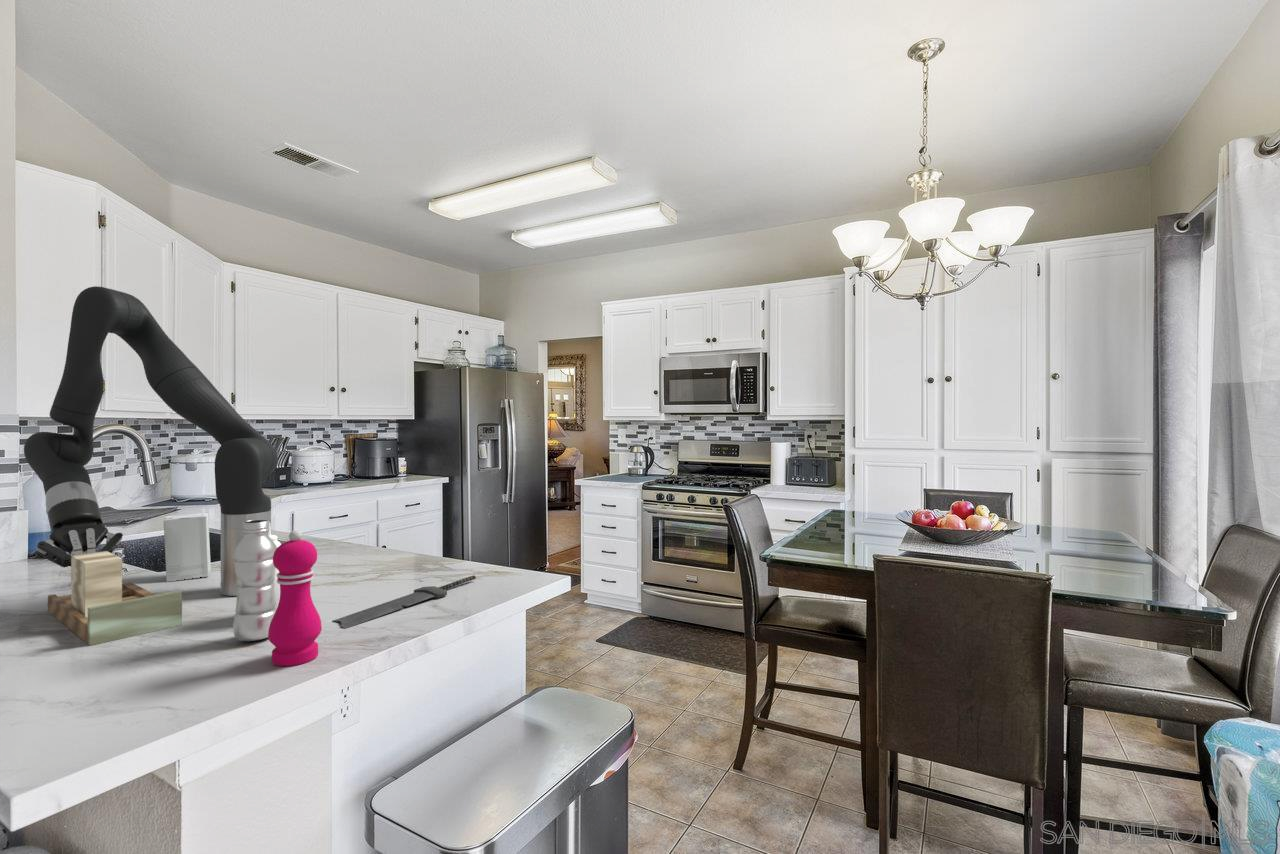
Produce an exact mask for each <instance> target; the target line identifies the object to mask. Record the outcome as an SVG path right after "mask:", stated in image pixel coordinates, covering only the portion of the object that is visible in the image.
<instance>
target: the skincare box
mask: <svg viewBox="0 0 1280 854" xmlns="http://www.w3.org/2000/svg"><path fill="white" fill-rule="evenodd" d="M209 524H210V523H209V512H198V513H190V514H189V513H187V514H177V515H176V514H175V515H167V516H166V517H165V518H164V519H163V535H164V536H163V537H164V555H165V573H166V582H167V583H168V581H170V582H175V581H176V582H177V580H178V581H184V579H185V580H192V578H193V579H201V578H200V577H202V578H208V577H209V576H210V574H211V572H212V571H211V570H212V566H211V565H212V564H211V549H210V548H211V547H210V525H209Z"/></svg>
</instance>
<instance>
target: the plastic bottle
mask: <svg viewBox="0 0 1280 854" xmlns="http://www.w3.org/2000/svg"><path fill="white" fill-rule="evenodd" d="M268 531H269V521H268V520H250V521H245V522H243V530H242V533H243V534H244V537H243V538H242V540H241V541H240V542H239V543H238V545H237V546H236V548H235V549H234V552H233V555H232V556H233V561H234V562H233V563H234V569H235V574H236V585H237V596H236V606H235V614H234V618H233V622H232V630H233V631H232V632H233V635H234V637H235V638H236V640H238V641H240V642H253V641H260V640H263V639H267V638H268V632H269V626H270V623H271V620H272V618H273V616H274V614H275V612H276V610H277V608H276V601H275V592H274V581H275V569H276V568H275V566H274V564H273V555H274V552H275V550H276V549H277V546H276V544H275V543H274V542H273V540H272V539H271V538H270V537H269V536H268V535H267V532H268Z"/></svg>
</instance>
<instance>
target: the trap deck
mask: <svg viewBox="0 0 1280 854" xmlns="http://www.w3.org/2000/svg"><path fill="white" fill-rule="evenodd" d="M47 611H48V613H50V614H51V615H53V616H54V617H55V618H56V619H57V620H58V621H59V622H61V623H62V624H64V626H66V627H67V628H68V629H69V630H70V631H72V632H73V633H74V634H75V635H77V636H78V638H79V639H81V640H82V641H84V642H85V643H86V644H87V645H89V646H95V645H100V644H104V643H108V642H109V643H110V642H113V641H117V640H121V639H122V640H123V639H126V638H130V637H134V636H135V637H136V636H139V635H144V634H148V633H153V632H157V631H162V630H167V629H170V628H171V629H172V628H175V627H179V626H182V625H183V591H180V590H175V591H169V592H163V593H158V594H155V593H152V592H151V591H149V590H147V589H145V588H143V587H142V586H140V585H137V584H135V583H133V582H131V581H127V582H122V601H120V602H115V603H109V604H104V605H99V606H93V607H88V617H85V616H84V615H83V614H81V613H80V612H79V611H77V610H76V609H74V608H73V607H72V606H71V594H67V595H62V596H58V595H56V594H54V593H53V594H49V595H47Z"/></svg>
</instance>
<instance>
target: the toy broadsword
mask: <svg viewBox="0 0 1280 854" xmlns="http://www.w3.org/2000/svg"><path fill="white" fill-rule="evenodd" d="M476 578H477V576H476V575H474V574H473V575H471V576H468V577H464V578H461V579H459V580H456V581H453V582H451V583H447V584H445V585H441V586H439V587H438V586H435V585H434V586H422V587H419V588H416V589H414V590H413V592H412V593H409V594H406V595H403V596H401V597H397V598H395V599H392V600H389V601H386V602H383V603H381V604H377V605H374V606H371V607H368V608H365V609H363V610H360V611H357V612H354V613H350V614H348V615H344V616H342V617H339V618H335V619H333V620H332V622H333V623H340V624H341V625H340V628H342V629H344V630H347V629H349V628H351V627H355V626H357V625H360V624H363V623H366V622H368V621H372V620H374V619H376V618H380V617H382V616H385V615H387V614H391V613H394V612H396V611H399V610H402V609H404V608H406V607H410V606H412V605H416V604H417V603H418V604H419V603H420V602H423V601H427V600H429V599H433V600H434V599H435V600H436V599H440V598H443V597H445V596H448V590H447V589H451V588H454V587H456V586H459V585H461V584H464V583H467V582H470V581H472V580H476Z"/></svg>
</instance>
